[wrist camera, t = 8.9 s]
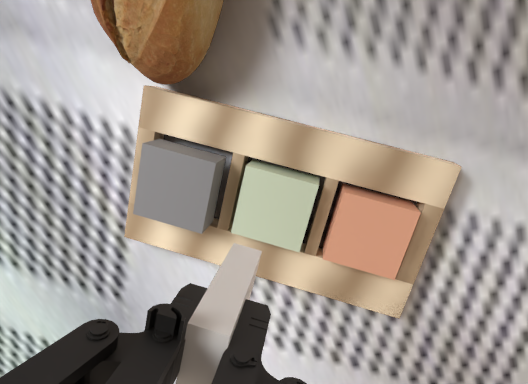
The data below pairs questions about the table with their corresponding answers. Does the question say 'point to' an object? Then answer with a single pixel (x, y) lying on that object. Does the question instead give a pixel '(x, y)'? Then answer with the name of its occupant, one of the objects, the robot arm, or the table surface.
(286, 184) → the sage tile
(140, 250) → the table surface
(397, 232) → the terracotta tile
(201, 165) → the charcoal tile
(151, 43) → the bread roll
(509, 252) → the table surface
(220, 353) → the robot arm
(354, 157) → the board
